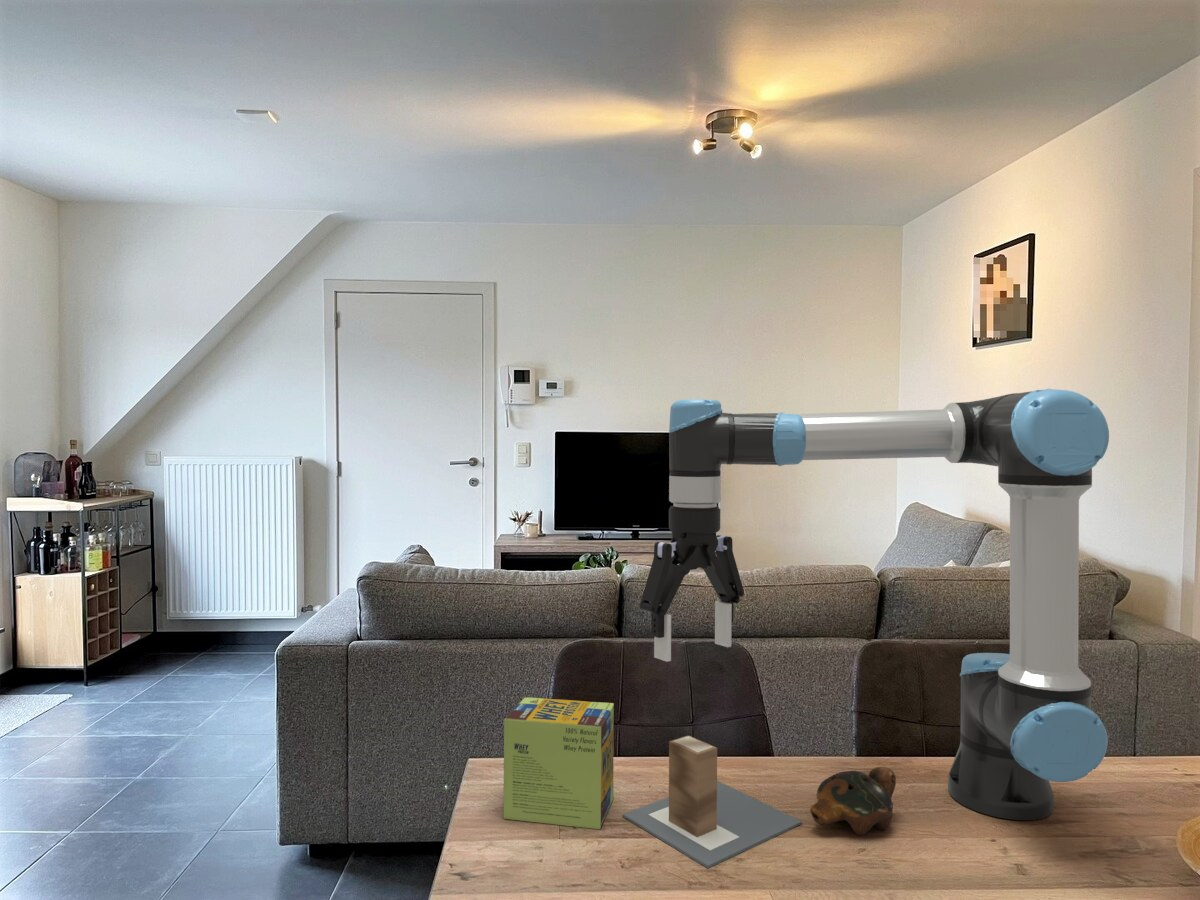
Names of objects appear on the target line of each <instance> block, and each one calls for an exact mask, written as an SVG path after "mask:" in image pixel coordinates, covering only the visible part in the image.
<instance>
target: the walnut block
mask: <svg viewBox="0 0 1200 900" xmlns="http://www.w3.org/2000/svg"><path fill="white" fill-rule="evenodd" d="M717 781H718V747H716V746H714V745H711V744H709V743H708V742H705V741H703V740H700V739H698V738H696V737H693V736H691V735H686V736H682V737H678V738H677V739H675V738H674V739H672V740H669V741H668V797H669V822H671V823H673V824H675V825H676V826H678V827H680V828H682V829H683V830H685V831H687V832H689V833H690V834H692V835H694V836H696V837H699V836H702V835H704V834H706V833H709V832H711V831H713V830H716V829H717Z"/></svg>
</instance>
